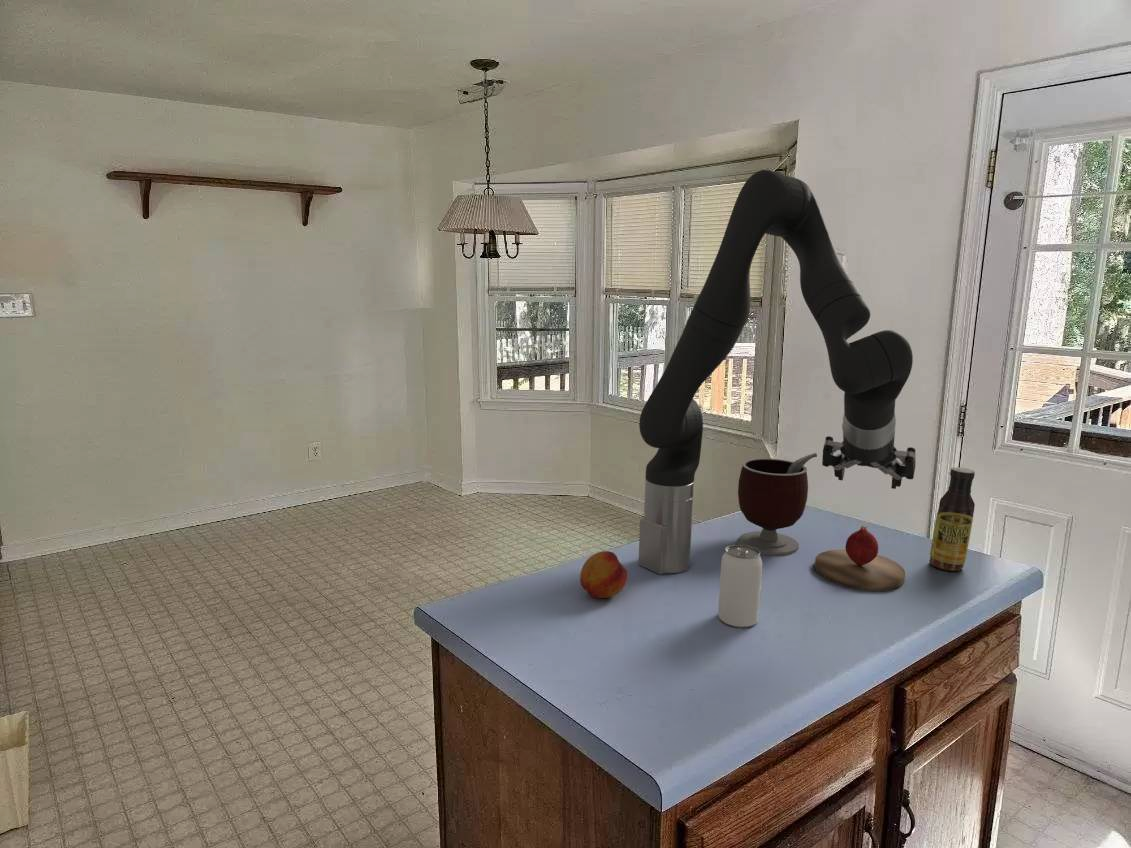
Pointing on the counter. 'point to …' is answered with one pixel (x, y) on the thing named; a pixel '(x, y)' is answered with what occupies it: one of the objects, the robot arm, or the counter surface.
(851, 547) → the onion
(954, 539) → the sauce bottle
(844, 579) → the walnut board
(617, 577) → the fruit
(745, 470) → the mate gourd
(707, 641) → the counter surface
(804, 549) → the counter surface
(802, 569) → the counter surface
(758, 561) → the can
